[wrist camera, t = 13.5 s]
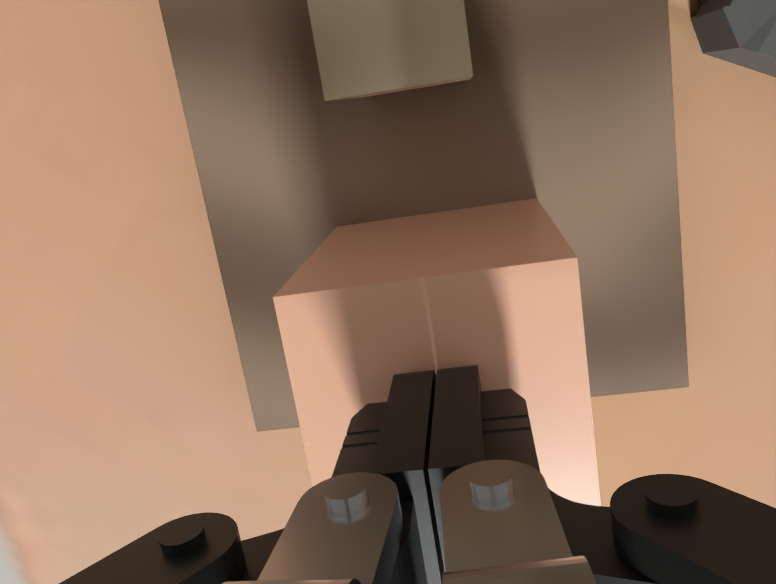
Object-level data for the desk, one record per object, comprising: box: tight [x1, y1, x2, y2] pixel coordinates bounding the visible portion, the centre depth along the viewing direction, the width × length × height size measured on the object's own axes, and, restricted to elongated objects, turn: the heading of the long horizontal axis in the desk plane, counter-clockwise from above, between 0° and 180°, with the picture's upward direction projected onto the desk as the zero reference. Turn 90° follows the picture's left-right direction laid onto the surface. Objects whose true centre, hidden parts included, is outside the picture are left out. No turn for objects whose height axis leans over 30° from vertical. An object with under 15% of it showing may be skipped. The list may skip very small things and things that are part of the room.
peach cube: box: [273, 198, 601, 506], centre depth 16 cm, size 5×5×7 cm
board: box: [159, 0, 689, 432], centre depth 15 cm, size 21×12×7 cm, turn 9°
